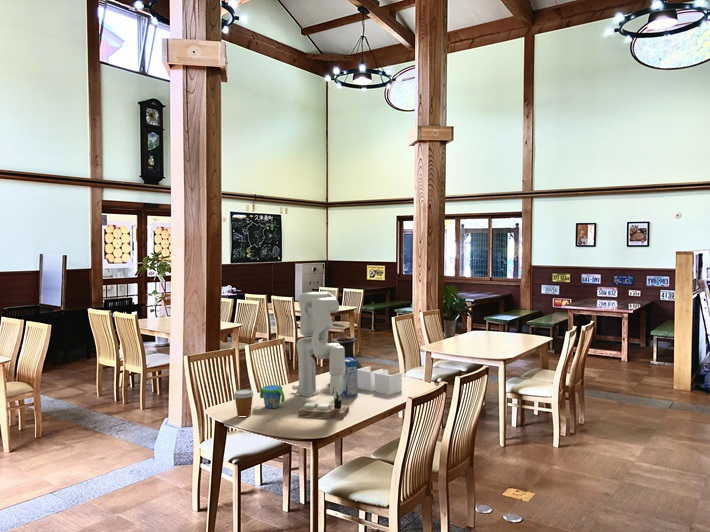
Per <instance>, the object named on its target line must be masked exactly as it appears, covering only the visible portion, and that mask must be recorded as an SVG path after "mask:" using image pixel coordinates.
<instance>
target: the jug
mask: <svg viewBox="0 0 710 532" xmlns="http://www.w3.org/2000/svg"><path fill="white" fill-rule="evenodd" d="M358 340H359V339H358V338H357V337H352V336H348V335H346V333H345V332H344V331H339V332H338V336H337V337H334V338H333V339H332V340H331V341H332V343H339V344H340V345H341V346H343V347H344V350H345V358H350V357H351V358H353V359H355V360H357V358H356V357H355V355H354V346H355V342H357V341H358ZM361 368H363V367H362V365H361V363H360V361H359V360H357V369H361Z"/></svg>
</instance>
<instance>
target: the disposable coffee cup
mask: <svg viewBox="0 0 710 532" xmlns="http://www.w3.org/2000/svg"><path fill="white" fill-rule="evenodd" d="M233 396H234V400H235V401H234V402H235V407H236V413H237V417H238V416H249V415H252V407H253V406H252V405H253V397H254V392H253V389H247V388H245V389H237V390H235V391H234V394H233ZM249 417H250V416H249Z"/></svg>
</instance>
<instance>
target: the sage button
mask: <svg viewBox="0 0 710 532" xmlns="http://www.w3.org/2000/svg"><path fill="white" fill-rule="evenodd" d="M317 404H318V403H317V402H306V403H305V404H304V405H303V406H304V408H306V409H315V408H316V407H317Z"/></svg>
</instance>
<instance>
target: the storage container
mask: <svg viewBox="0 0 710 532" xmlns="http://www.w3.org/2000/svg"><path fill="white" fill-rule="evenodd" d="M371 368H372V367H371V366H366V367H365V366H364V367H361V369H357V387H358V389H360V388H362V389H361V390H364V389H367V390H366V391H369V390H372V391H374V392H375V391H376V392H375V393H377V392H380V393H379V394H382V393H385V394H384V395H386V394H389V395H388V396H391V395H390V394H392V395H394V394H393V393H395V394H397V393H396V392H398V393H401V392H403V380H402V379H403V373H402V371H400V372H398V373H393V374H389V369H384V368H380V369H377V370H373V371H372V370H371ZM374 389H375V390H374ZM400 391H401V392H400Z"/></svg>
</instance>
